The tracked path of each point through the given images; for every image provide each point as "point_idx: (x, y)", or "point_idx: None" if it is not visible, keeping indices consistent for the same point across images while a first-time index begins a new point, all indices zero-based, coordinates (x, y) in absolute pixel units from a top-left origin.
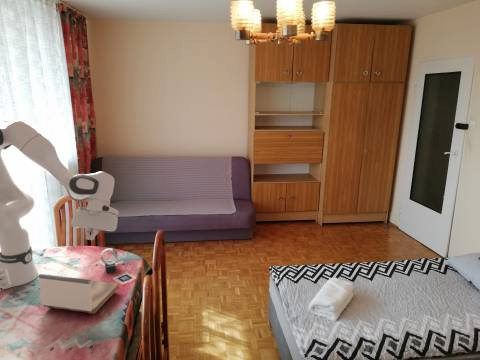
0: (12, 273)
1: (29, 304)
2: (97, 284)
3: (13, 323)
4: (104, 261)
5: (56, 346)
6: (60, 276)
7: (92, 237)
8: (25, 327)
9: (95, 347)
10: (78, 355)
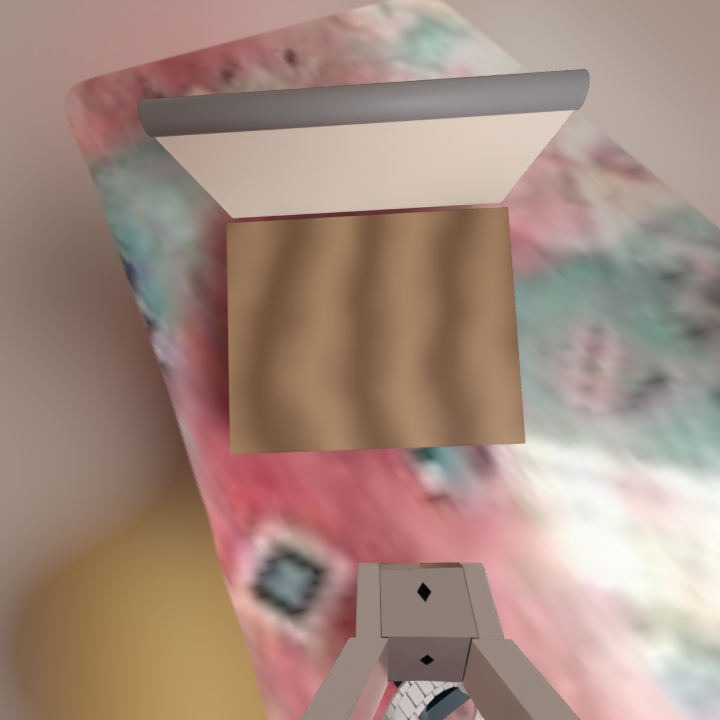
0: None
1: (598, 251)
2: (340, 418)
3: None
4: None
5: (284, 69)
6: (398, 93)
7: (358, 604)
8: None
9: None
10: (178, 55)
